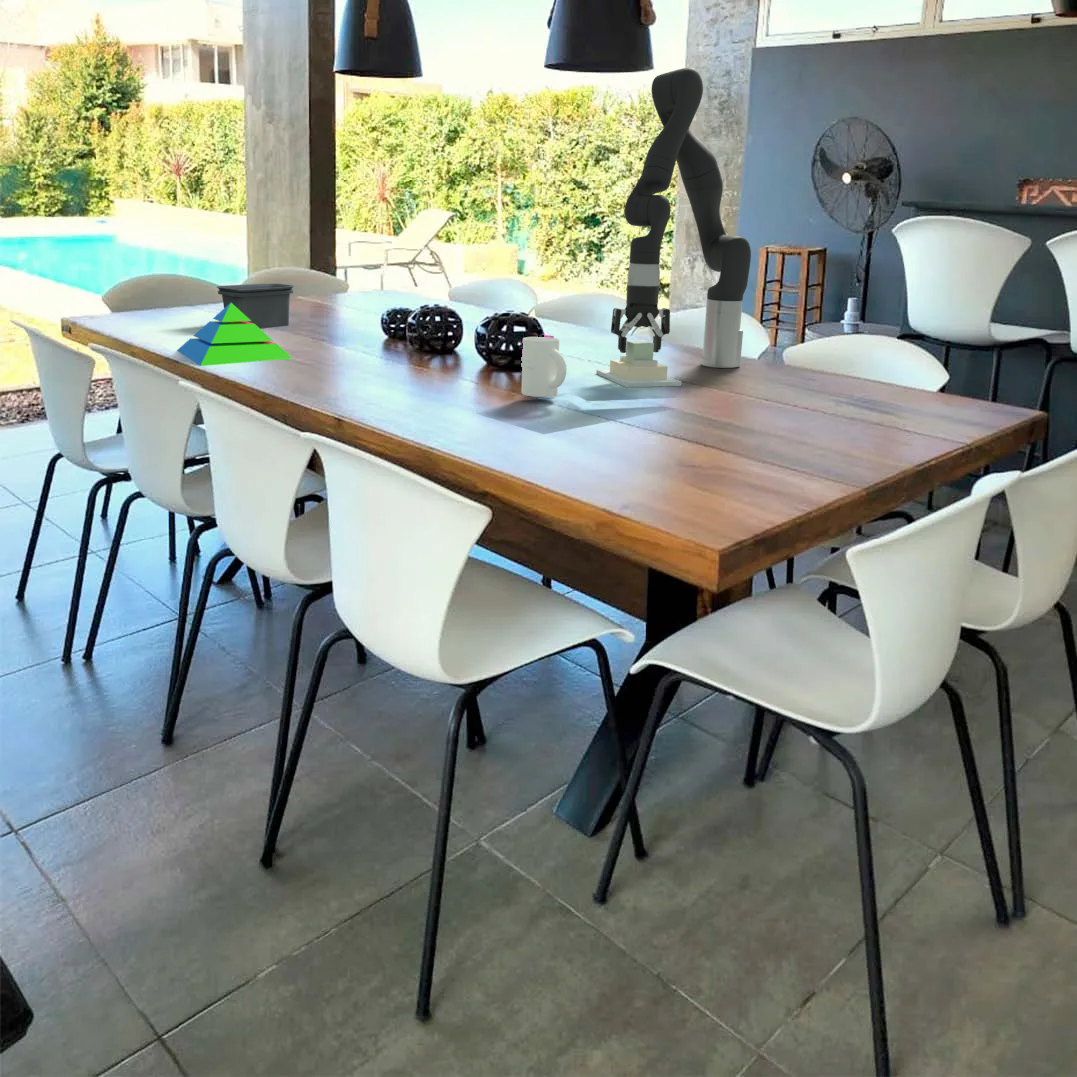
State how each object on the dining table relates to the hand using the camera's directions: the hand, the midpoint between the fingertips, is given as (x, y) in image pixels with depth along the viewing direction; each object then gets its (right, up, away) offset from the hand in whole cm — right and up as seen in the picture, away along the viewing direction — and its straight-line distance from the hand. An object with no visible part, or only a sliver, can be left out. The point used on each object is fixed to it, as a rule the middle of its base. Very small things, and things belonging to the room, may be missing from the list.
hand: (639, 352), depth 250 cm
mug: (-23, -14, -23) cm, 35 cm away
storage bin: (-111, +18, +66) cm, 130 cm away
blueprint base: (0, -6, +2) cm, 7 cm away
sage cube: (0, -2, +1) cm, 3 cm away
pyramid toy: (-104, +2, +21) cm, 106 cm away
